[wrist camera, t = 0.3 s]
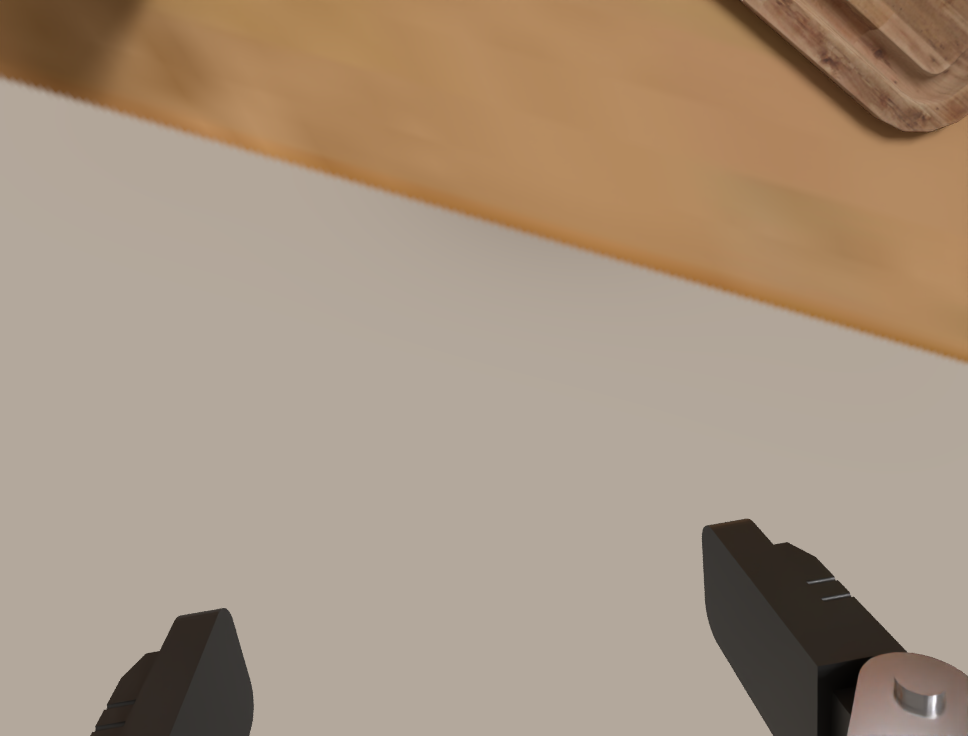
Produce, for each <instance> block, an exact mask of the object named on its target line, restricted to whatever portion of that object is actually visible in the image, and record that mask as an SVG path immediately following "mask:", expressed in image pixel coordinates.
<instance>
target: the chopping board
mask: <svg viewBox="0 0 968 736" xmlns="http://www.w3.org/2000/svg"><path fill="white" fill-rule="evenodd" d="M740 1H741V2H742V3H743V4H744V5H746V6H747V7H748V8H749V9H750V10H751V11H752V12H754V13H755V14H756V15H757V16H758V17H759V18H761V19H762V20H763V21H764V22H765V23H766V24H768V25H769V26H770V27H771V28H772V29H773V30H774V31H776V32H777V33H778V34H779V35H780V36H781V37H783V38H784V39H785V40H786V41H787V42H788V43H789V44H791V45H792V46H793V47H794V48H795V49H796V50H798V51H799V52H800V53H801V54H802V55H803V56H804V57H806V58H807V59H808V60H809V61H810V62H811V63H813V64H814V65H815V66H816V67H817V68H818V69H820V70H821V71H822V72H823V73H824V74H825V75H826V76H828V77H829V78H830V79H831V80H832V81H833V82H835V83H836V84H837V85H838V86H839V87H840V88H841V89H843V90H844V91H845V92H846V93H847V94H848V95H850V96H851V97H852V98H853V99H854V100H855V101H857V102H858V103H859V104H860V105H861V106H862V107H863V108H865V109H866V110H867V111H868V112H869V113H870V114H872V115H873V116H874V117H875V118H877V119H879V120H881V121H883V122H885V123H887V124H889V125H891V126H893V127H895V128H897V129H899V130H901V131H903V132H931V131H934V130H937V129H939V128H942V127H945V126H948V125H951V124H953V123H956V122H958V121H960V120H961V119H962V118H964V117H965V116H966V115H968V0H740Z"/></svg>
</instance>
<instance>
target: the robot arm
mask: <svg viewBox="0 0 968 736" xmlns="http://www.w3.org/2000/svg"><path fill="white" fill-rule="evenodd" d="M702 549H703V569H704V586H705V587H704V588H705V604H706V612H707V617H708V620H709V624H710V627H711V630H712V633H713V636H714V638H715V640H716V642H717V643H718V645H719V647H720V649H721V650H722V652H723V654H724V655H725V657H726V658H727V660H728V662H729V663H730V665H731V667H732V668H733V670H734V672H735V673H736V675H737V677H738V678H739V680H740V682H741V683H742V685H743V687H744V688H745V690H746V691H747V693H748V695H749V696H750V698H751V700H752V701H753V703H754V705H755V706H756V708H757V709H758V711H759V713H760V715H761V716H762V718H763V719H764V721H765V723H766V724H767V726H768V728H769V729H770V731H771V733H772V734H773V736H968V676H967V675H966V674H964V673H963V672H962V671H960V670H958V669H957V668H955V667H954V666H952V665H950V664H948V663H945V662H943V661H941V660H938V659H935V658H933V657H929V656H925V655H920V654H915V653H908V652H907V651H906V650H904V648H903V647H902V646H901V645H900V644H899V643H898V642H897V641H896V640H895V639H894V638H893V637H892V636H891V635H890V634H889V633H888V632H887V631H886V630H885V629H884V627H883V626H882V625H881V624H880V623H879V622H878V621H877V620H876V619H875V618H874V617H873V616H872V615H871V614H870V613H869V612H868V611H867V610H866V609H865V608H864V607H863V606H862V605H861V604H860V603H859V602H858V601H857V599H855V597H851V595H850V592H849V591H848V590H847V589H846V588H845V587H844V586H843V585H842V584H841V583H840V582H839V581H838V580H837V581H836V580H835V578H834V576H833V575H832V574H831V573H830V571H829V570H828V569H827V568H826V567H825V566H824V565H823V564H822V563H821V562H820V561H819V560H818V559H817V558H816V557H815V556H813V555H811V554H809V553H807V552H805V551H803V550H801V549H799V548H797V547H795V546H793V545H792V544H790V543H788V542H786V543H780V544H775V545H773V544H772V543H771V542H770V540H769V539H768V538H767V537H766V536H765V535H764V534H763V533H762V531H761V530H760V529H759V528H758V527H757V526H756V525H755V523H754V522H753V521H752V520H750V519H742V520H736V521H730V522H725V523H719V524H714V525H707V526H705V527H704V528H703V532H702ZM253 710H254V704H253V691H252V686H251V682H250V678H249V674H248V671H247V667H246V664H245V660H244V657H243V653H242V650H241V647H240V643H239V640H238V636H237V633H236V629H235V626H234V622H233V619H232V616H231V614H230V612H229V611H228V610H227V609H226V608H222V609H216V610H211V611H204V612H199V613H193V614H187V615H182V616H179V617H177V618H176V620H175V621H174V623H173V625H172V627H171V629H170V631H169V633H168V636H167V637H166V639H165V641H164V643H163V645H162V648H161V650H160V651H158V652H152V653H147V654H145V655H144V656H143V657H142V658H141V659H140V660H139V661H138V662H137V663H136V664H135V665H134V666H133V667H132V668H131V669H130V670H129V671H128V672H127V673H126V674H125V675H124V676H123V677H122V678H121V679H120V681H119V683H118V685H117V687H116V689H115V691H114V692H113V694H112V696H111V698H110V700H109V702H108V704H107V710H104V711H103V713H102V715H101V717H100V719H99V721H98V722H97V724H96V726H95V727H96V731H95V732H92V734H91V735H90V736H249V734H250V730H251V726H252V721H253Z"/></svg>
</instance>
